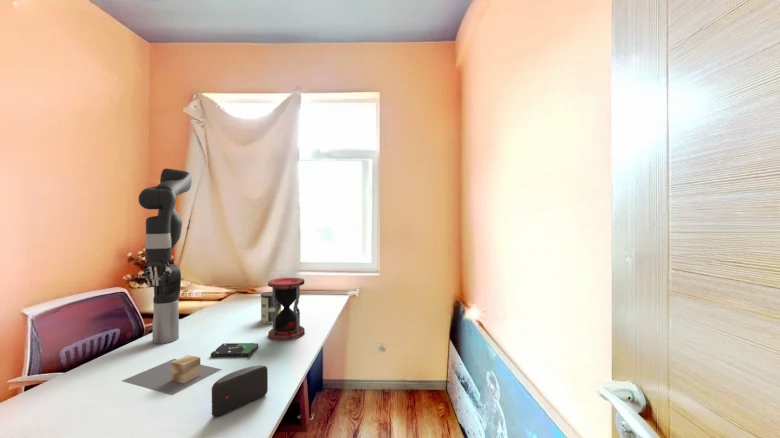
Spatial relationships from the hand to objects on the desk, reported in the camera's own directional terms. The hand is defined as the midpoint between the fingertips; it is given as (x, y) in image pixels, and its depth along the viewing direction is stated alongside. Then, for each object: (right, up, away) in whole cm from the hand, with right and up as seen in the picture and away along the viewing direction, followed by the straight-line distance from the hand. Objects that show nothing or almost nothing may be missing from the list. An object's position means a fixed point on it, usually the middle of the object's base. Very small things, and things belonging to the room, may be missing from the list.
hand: (158, 296), depth 116 cm
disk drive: (+19, -28, +17) cm, 37 cm away
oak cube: (+12, -20, -4) cm, 24 cm away
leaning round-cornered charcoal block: (+38, -28, -19) cm, 50 cm away
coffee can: (+18, -27, +59) cm, 67 cm away
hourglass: (+33, -27, +38) cm, 57 cm away
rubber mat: (+7, -27, -2) cm, 28 cm away
